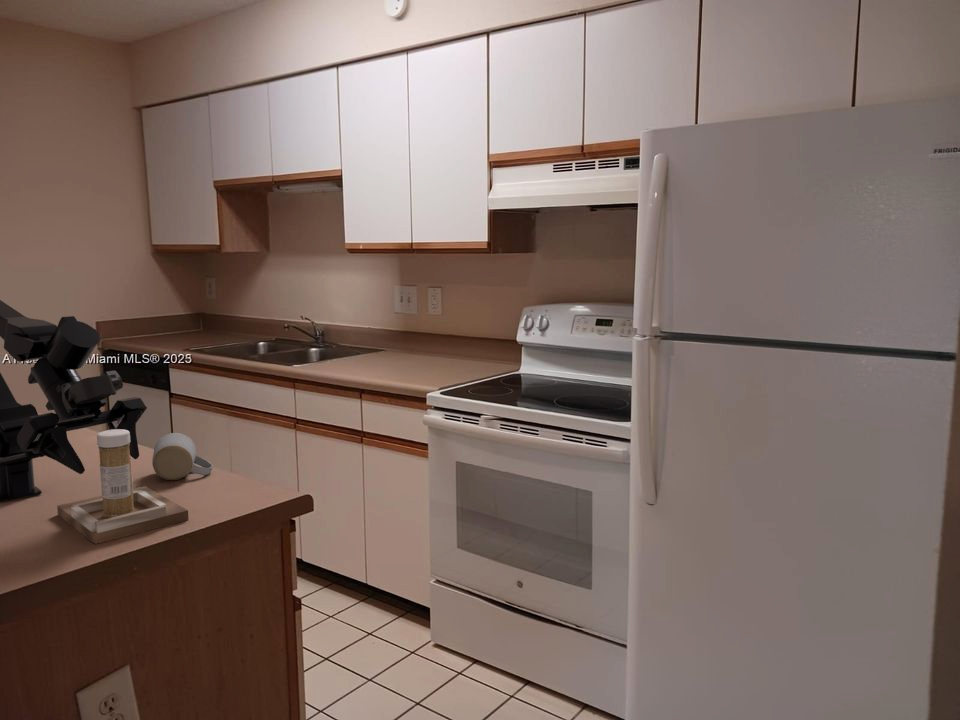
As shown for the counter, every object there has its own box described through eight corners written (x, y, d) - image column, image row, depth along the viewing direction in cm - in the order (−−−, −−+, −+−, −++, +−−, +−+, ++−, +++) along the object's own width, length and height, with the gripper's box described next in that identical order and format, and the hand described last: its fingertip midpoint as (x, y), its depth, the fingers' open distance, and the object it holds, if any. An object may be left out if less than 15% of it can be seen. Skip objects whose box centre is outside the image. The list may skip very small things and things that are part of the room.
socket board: (57, 514, 117) (56, 496, 116) (145, 494, 127) (144, 478, 126) (95, 544, 105) (93, 524, 105) (188, 519, 115) (187, 501, 115)
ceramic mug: (152, 484, 133) (150, 444, 131) (154, 471, 140) (153, 433, 139) (213, 479, 136) (212, 440, 135) (212, 467, 144) (211, 430, 143)
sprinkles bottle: (137, 508, 115) (132, 427, 113) (132, 518, 111) (126, 434, 109) (105, 511, 114) (100, 429, 112) (99, 521, 110) (93, 436, 108)
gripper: (21, 363, 104) (73, 448, 100) (137, 349, 120) (184, 422, 116) (-5, 409, 109) (43, 492, 105) (109, 390, 125) (154, 461, 121)
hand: (110, 464), depth 112 cm, fingers open, 9 cm apart
